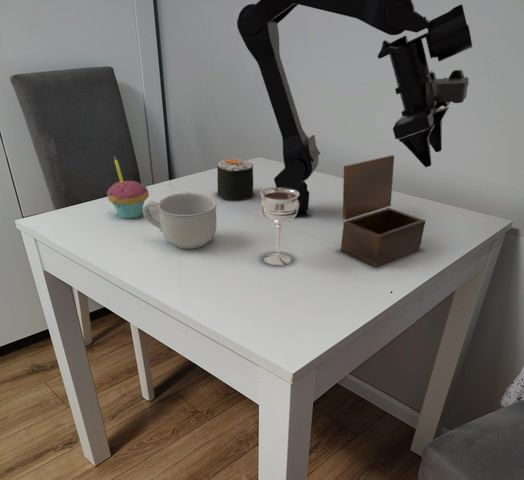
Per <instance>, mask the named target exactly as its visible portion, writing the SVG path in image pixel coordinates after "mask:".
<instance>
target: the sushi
mask: <svg viewBox="0 0 524 480" xmlns="http://www.w3.org/2000/svg"><path fill="white" fill-rule="evenodd" d="M217 163H218V165H217V169H216V170H217V195H218V196H219V197H220V198H221V199H223V200H226V201H233V202H235V201H241V200H246V199H251V198H252V197H253V196H254V166H255V165H254V164H253V163H252V162H250V161H248V160H244V159H239V158H232V157H230V158H229V159H222V160H221V161H218V162H217Z"/></svg>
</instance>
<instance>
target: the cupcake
mask: <svg viewBox="0 0 524 480" xmlns="http://www.w3.org/2000/svg"><path fill="white" fill-rule="evenodd" d="M113 158H114V164H115V168H116V171H117V175H118V179H119V181H116V182H115V183H113V184H112V185H110V187H109V188H108V189H107V190H106V195H107V198H108V201H109V202H111V204H112V205H113V207H114V208H115V209H116V212H117V214H118V216H119V217H120V218H122V219H136V218H139V217H141V216H142V214H143V207H144V205H145V201H146V200H147V199H148V198H149V195H150V194H149V190H148V187H146V186H145V185H143V184H142V183H141V182H138V181H136V180H132V179H131V180H124V178H123V174H122V171H121V167H120V164H119V161H118V159H117V158H116V156H115V155H114V156H113Z"/></svg>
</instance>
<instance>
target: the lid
mask: <svg viewBox="0 0 524 480" xmlns="http://www.w3.org/2000/svg"><path fill="white" fill-rule="evenodd" d="M394 163H395V155H394V154H393V155H391V154H390V155H387V156H386V155H385V156H382V157H377V158H372V159H369V160H364V161H360V162H356V163H351V164H347V165H346V164H345V165H343V182H342V183H343V185H342V186H343V187H342V191H343V192H342V193H343V194H342V220H344V221H347V220H350V219H354V218H357V217H360V216H364V215H367V214H370V213H373V212H377V211H380V210H383V209H386V208H390V207H391V206H392V195H393V194H392V193H393V178H394V166H395V165H394Z"/></svg>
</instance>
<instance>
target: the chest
mask: <svg viewBox="0 0 524 480" xmlns="http://www.w3.org/2000/svg"><path fill="white" fill-rule="evenodd" d="M425 226H426V220H425V219H422V218H419V217H416V216H414V215H410V214H408V213H405V212H402V211H399V210H397V209H395V208H391V207H386V208H383V209H380V210H376V211H373V212H370V213H367V214H363V215H360V216H357V217H354V218H351V219H347V220H344V221H343V227H342V236H341V244H340V252H341V253H344V254H346V255H348V256H350V257H352V258H354V259H357V260H359V261H361V262H362V263H365V264H367V265H369V266H371V267H374V268H378V267H380V266H382V265H385V264H388V263H390V262H392V261H395V260H398V259H400V258H403V257H405V256H408V255H410V254H413V253H415V252H418V251H420V249H421V245H422V240H423V235H424V230H425Z"/></svg>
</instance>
